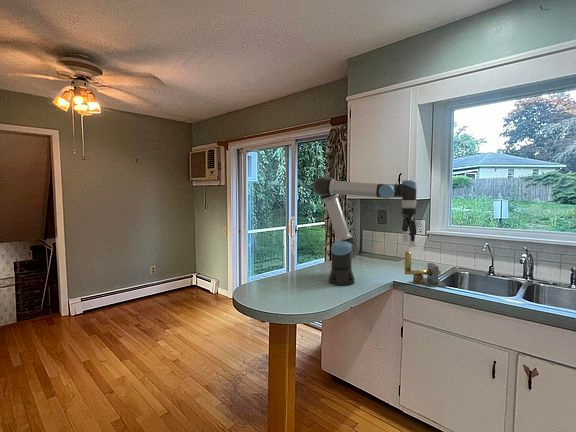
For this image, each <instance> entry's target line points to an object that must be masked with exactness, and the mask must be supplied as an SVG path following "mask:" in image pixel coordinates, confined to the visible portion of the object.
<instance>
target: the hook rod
mask: <svg viewBox="0 0 576 432" xmlns="http://www.w3.org/2000/svg"><path fill="white" fill-rule="evenodd" d="M403 273H404V275H423V276H424V275H426V276H427V275H431V270H427V269H426V270H423V269H422V270H421V269H420V270H417V269H416V270H415V269H413V270H412V251H407V250H406V251H404V272H403ZM438 276H441V270H439V273H438Z"/></svg>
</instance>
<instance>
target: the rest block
mask: <svg viewBox="0 0 576 432" xmlns="http://www.w3.org/2000/svg"><path fill="white" fill-rule="evenodd" d="M412 275H413V274H412ZM423 278H424V275H413V279H412V280H413V281H412V282H414V284H415V285H417V284H418V285H424V283H423Z"/></svg>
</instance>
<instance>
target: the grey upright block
mask: <svg viewBox="0 0 576 432" xmlns="http://www.w3.org/2000/svg"><path fill="white" fill-rule="evenodd" d="M426 268H427V269H426V270H431V275H426V277H423V285H426V287H439V288H441V287H442V288H443V287H444V288H445V287H447V284H446V283H444V282H443V281H442V280H441V279H439V275H438V273H439V271H440V270H439V268H440V266H438V265H436V264H435V263H433V262H427V267H426Z"/></svg>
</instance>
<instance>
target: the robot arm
mask: <svg viewBox="0 0 576 432" xmlns="http://www.w3.org/2000/svg"><path fill="white" fill-rule="evenodd" d="M312 190H313V192H314V193H315V194H316V195H318V196H320V199H321V201H322V202H324V204H325V207H326V210H327V213H328V217H329V218H330V219H329V220H330V222H331V225H332V228H333V232H334V235H335V237H336V239H335V241H334V242H332V245H331V248H330V249H331V250H330V251H331V252H330V253H331V269H330V273H329V275H328V283H329V284H331V285H333V284H334V286H339V287H341V286H342V287H345V286H351V285H353V284H355V277H354V274H353V270H352V262H353V261H352V260H353V259H354V258H356V257H357V255H358V253H359V251H360V247H359V245H358V243H357V242H356V241H355V239H354V235H352V234H350V232H349V228H348V225H347V221H346V219H345V215H344V212H343V209H342V206H341V203H340V200H339V196H340V195H345V196H356V197H358V196H359V197H368V198H369V197H370V198H381V199H382V198H383V199H391V198H401V207H402V208H401V214H402V215H403V217H402V225H401V230H402V243H408V244H409V246H408V247H411V248H415V247H416V246H415V245H416V242H415V241H416V235H417V227H416V226H417V225H416V217H415V215H416V214H417V208H416V207H417V203H418V201H417V182H416V180H415V179H413V180H412V179H410V180H407V179H406V180H402V182H401V183H392V184H388V183H374V182H373V183H372V182H371V183H370V182H359V181H357V182H356V181H341V180H340V181H339V180H336V179H335V178H333V177H331V176H319V177H317V178H316V179H314V181H313V183H312ZM413 215H414V216H413ZM408 240H409V241H408Z"/></svg>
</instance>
